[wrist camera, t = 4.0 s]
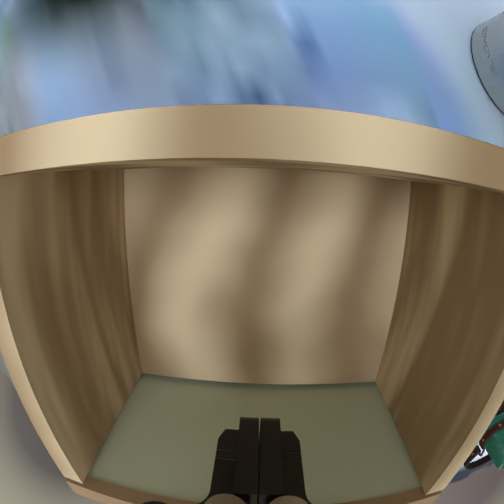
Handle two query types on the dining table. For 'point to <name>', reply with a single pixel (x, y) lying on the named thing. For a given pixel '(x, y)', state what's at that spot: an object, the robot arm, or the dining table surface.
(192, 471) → the panel
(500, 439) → the binoculars
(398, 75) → the dining table surface
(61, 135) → the crate
